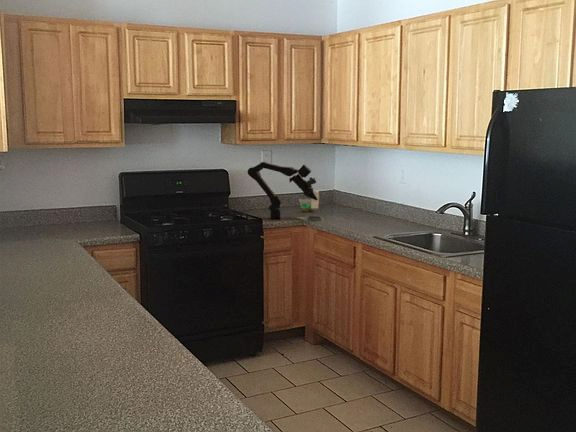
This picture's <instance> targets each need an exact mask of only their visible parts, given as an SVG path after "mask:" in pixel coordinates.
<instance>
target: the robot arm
mask: <svg viewBox="0 0 576 432" xmlns="http://www.w3.org/2000/svg"><path fill="white" fill-rule="evenodd" d="M263 169H267V170H270V171H274V172H278V173H280V174H282V175H284V176H287V177H289V178H288V179H289V183H292V182H293V183H294V184H295V185H296V186H297V188H299V189H300V190H301V191H302V192H303V196H305V197H307V198H309V199H311V198H312V199H314V200H317V198H316V196H315V195H314V193H313V191H314V187H313V186H312V185H314V184H316V183H317V181H316V178H315V177H309V179H308V180H306V179H304V178H306V177H308V176H309V175H310V174H311V173H312V170H311V169H310V168H309V167H308V166H307V165H306V164H303V165H302V166H301V167H300V168H299V169H297V168H294V167H293V166H282V165H279V164H273V163H270V162H266V161H261V162H260V163H258V164H257V165H255V166H253V167H252V166H251V167H249V168H248V169H247V175H248V176H249V177H250V178H251V179H253V180H254V181H255V182H256V183H257V185H259V186H260V188H261V189H262V190H263V192H264V193H265V194H266V196H267V197H268V199H269V201H270V204H271V205H269V206H268V210H269V212H268V215H269V217H267V218H268V219H270V220H281V209H280V208H281V207H282V206H283V203H284V202H283V198H282V197H281V196H280V194H275V192H274V191H273V190H272V189H271V188H270V186H269V185H268V183H267V182H266V181H265V180H264V179H263V177H262V175H261V173H260V171H262V170H263Z"/></svg>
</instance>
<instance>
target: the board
mask: <svg viewBox="0 0 576 432" xmlns="http://www.w3.org/2000/svg"><path fill="white" fill-rule="evenodd" d="M322 217H323V216H321V215H318V216H317V215H311V216H310V215H307V216H296V218H297V219H299V220H302V221H304V222H305V221H306V222H307V221H308V222H309V221H311V222H312V221H323V220H325V219H324V218H322Z"/></svg>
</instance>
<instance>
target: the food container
mask: <svg viewBox="0 0 576 432" xmlns="http://www.w3.org/2000/svg"><path fill="white" fill-rule="evenodd" d="M298 202H299V204H300V213H304V214H305V213H313V214H314V213H315V210H311V198H299V200H298Z"/></svg>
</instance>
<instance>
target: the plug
mask: <svg viewBox="0 0 576 432" xmlns="http://www.w3.org/2000/svg"><path fill="white" fill-rule="evenodd" d="M313 193H314V195H315V196H316V198H317V200H314V199H312V198H310V199H311V210H314V211H318V210H319V204H320V196H321V195H320V194H319V190H313Z"/></svg>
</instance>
